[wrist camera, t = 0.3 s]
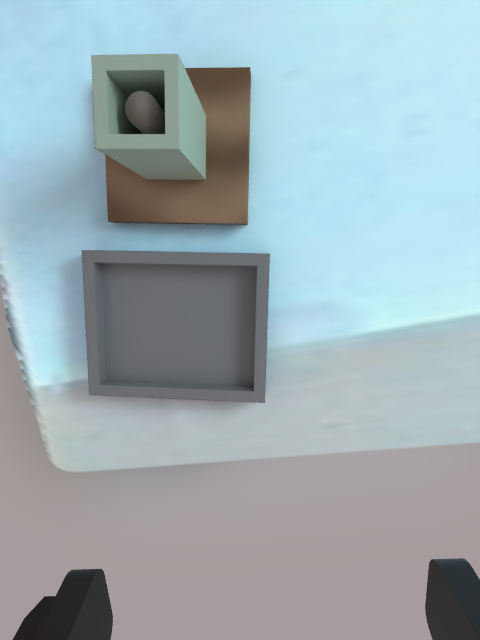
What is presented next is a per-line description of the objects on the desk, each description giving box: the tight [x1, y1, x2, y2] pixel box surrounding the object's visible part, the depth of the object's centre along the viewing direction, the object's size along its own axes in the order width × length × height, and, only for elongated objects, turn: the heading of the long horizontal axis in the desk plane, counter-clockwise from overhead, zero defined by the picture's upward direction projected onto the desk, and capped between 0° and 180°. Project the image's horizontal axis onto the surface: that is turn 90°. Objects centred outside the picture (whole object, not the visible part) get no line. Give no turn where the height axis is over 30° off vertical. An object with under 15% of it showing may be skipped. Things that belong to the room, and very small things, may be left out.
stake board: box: [106, 67, 251, 225], centre depth 29 cm, size 12×12×10 cm
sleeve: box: [91, 54, 206, 180], centre depth 27 cm, size 5×5×10 cm
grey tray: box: [82, 250, 270, 403], centre depth 35 cm, size 13×16×2 cm
